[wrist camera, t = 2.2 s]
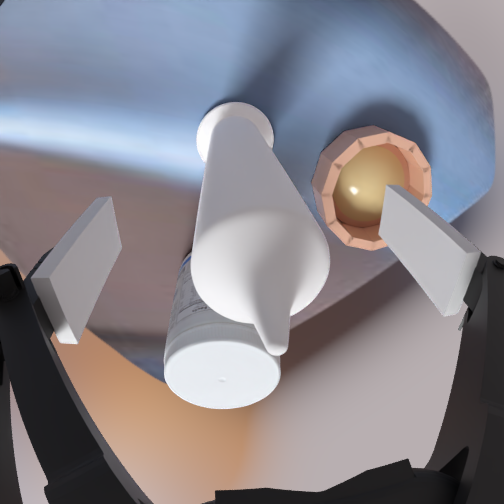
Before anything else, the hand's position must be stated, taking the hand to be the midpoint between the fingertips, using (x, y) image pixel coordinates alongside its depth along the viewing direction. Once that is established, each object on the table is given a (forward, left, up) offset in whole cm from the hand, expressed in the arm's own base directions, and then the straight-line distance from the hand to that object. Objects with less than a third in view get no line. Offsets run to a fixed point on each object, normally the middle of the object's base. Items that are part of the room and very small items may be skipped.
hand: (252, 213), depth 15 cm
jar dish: (+8, +12, -17) cm, 22 cm away
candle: (0, 0, -17) cm, 17 cm away
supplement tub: (+14, -6, -17) cm, 23 cm away
